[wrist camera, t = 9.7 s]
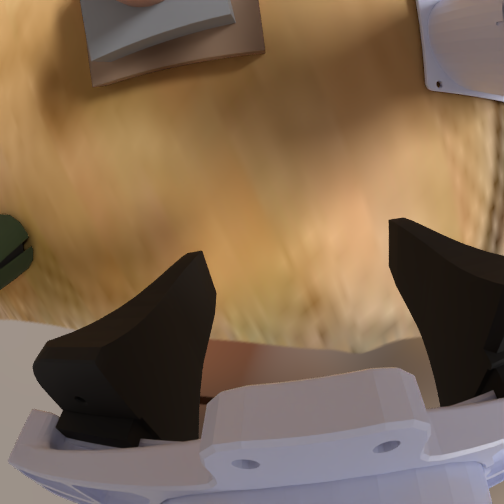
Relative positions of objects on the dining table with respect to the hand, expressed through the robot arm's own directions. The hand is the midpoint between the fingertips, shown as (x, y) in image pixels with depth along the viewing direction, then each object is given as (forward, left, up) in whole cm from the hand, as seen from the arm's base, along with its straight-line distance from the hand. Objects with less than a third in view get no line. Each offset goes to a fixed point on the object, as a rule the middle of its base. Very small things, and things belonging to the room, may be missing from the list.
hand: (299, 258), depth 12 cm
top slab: (+6, -14, -9) cm, 18 cm away
